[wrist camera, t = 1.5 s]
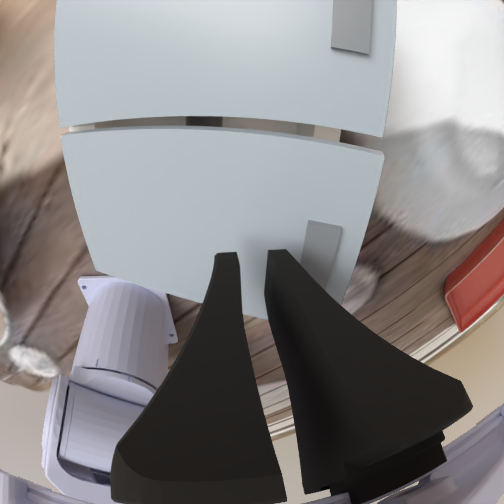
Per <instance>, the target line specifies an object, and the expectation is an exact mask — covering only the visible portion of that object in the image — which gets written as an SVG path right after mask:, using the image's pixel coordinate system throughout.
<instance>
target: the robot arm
mask: <svg viewBox="0 0 504 504" xmlns="http://www.w3.org/2000/svg"><path fill="white" fill-rule="evenodd" d="M78 284H79V286H80V289H81V291H82V293H83V295H84V297H85V299H86V301H87V303H88V305H89V309H88V312H87V315H86V318H85V321H84V325H83V328H82V332H81V335H80V339H79V343H78V347H77V350H76V354H75V358H74V363H73V367H72V371H71V374H70V376H69V379H68V376H66V375H64V374H60V376H59V377H58V376H57V377H55V378H53V381H52V385H51V390H50V395H49V400H48V405H47V410H46V416H45V422H44V429H43V437H42V445H41V446H42V447H43V451H42V467H43V469H45V476H46V477H47V478H48V480H49V481H50V482H51V483H52V484H53V485H55V487H56V488H57V489H59V490H60V491H61V492H62V493H63V494H64V495H62V494H59V493H56V492H53V491H52V490H51V489H48V488H46V487H43V486H40V485H38V484H35V483H33V482H30V481H28V480H25V479H23V478H20V477H16V476H14V475H11V474H9V473H7V472H5V471H3V470H1V469H0V504H275V503H281V502H286V501H287V497H286V491H285V487H284V482H283V477H282V473H281V470H280V467H279V464H278V460H277V457H276V454H275V451H274V447H273V444H272V440H271V437H270V433H269V430H268V426H267V423H266V419H265V416H264V412H263V408H262V404H261V400H260V396H259V392H258V388H257V384H256V380H255V376H254V371H253V367H252V362H251V358H250V353H249V348H248V344H247V339H246V334H245V329H244V322H243V312H242V293H241V273H240V263H239V259H238V255H237V252H222V253H217V254H216V255H215V256H214V266H213V271H212V275H211V279H210V283H209V286H208V289H207V292H206V295H205V298H204V301H203V303H202V306H201V308H200V311H199V313H198V315H197V318H196V320H195V323H194V325H193V327H192V329H191V332H190V334H189V336H188V338H187V340H186V342H185V344H184V346H183V348H182V350H181V351H180V353H179V355H178V357H177V359H176V360H175V362H174V364H173V366H172V367H171V369H170V371H169V372H168V346H169V343H177V342H178V336H177V333H176V329H175V325H174V321H173V318H172V314H171V310H170V306H169V301H168V297H167V293H164V292H161V291H157V290H154V289H151V288H148V287H144V286H141V285H138V284H135V283H132V282H129V281H126V280H123V279H120V278H116V277H114V276H111V275H109V276H83V277H80V278H79V279H78ZM85 286H86V287H85ZM264 298H265V304H266V310H267V316H268V321H269V324H270V327H271V331H272V334H273V337H274V341H275V344H276V347H277V351H278V354H279V357H280V360H281V364H282V367H283V370H284V373H285V377H286V381H287V385H288V390H289V396H290V401H291V406H292V412H293V418H294V424H295V430H296V436H297V443H298V450H299V457H300V466H301V474H302V484H303V488H304V493H305V494H311V493H315V492H319V491H323V490H327V489H330V493H331V496H330V497H326V498H323V499H319V500H315V501H311V502H307V503H303V504H370V503H372V502H374V501H377V500H380V499H382V498H384V497H386V496H389V495H390V496H389V497H387V498H385V499H383V500H382V501H380V502H378V503H377V504H496V503H497V502H498V500H499V499H500V497H501V496H502V494H503V493H504V404H503V405H501V406H500V407H498V408H497V409H495V410H494V411H493V412H491V413H490V414H489V415H487V416H486V417H485V418H483V419H482V420H481V421H479V422H478V423H477V424H476V426H475V427H473V428H472V429H470V430H469V431H467V432H466V433H464V434H463V435H461V436H460V437H458V438H457V439H455V440H454V441H452V442H451V443H449V444H448V445H446V446H444V447H443V448H442V445H441V442H442V441H444V440H445V436H444V434H443V431H442V430H444V429H445V428H447V427H449V426H450V425H452V424H453V423H454V422H456V421H457V420H459V419H460V418H462V417H463V416H464V415H466V414H467V413H468V412H469V411H471V409H472V407H473V405H472V403H471V401H470V399H469V397H468V394H467V393H466V390H465V388H464V386H463V384H462V382H461V381H460V380H457V379H455V378H453V377H451V376H448V375H446V374H444V373H442V372H440V371H437V370H435V369H433V368H431V367H429V366H427V365H425V364H423V363H422V362H420V361H418V360H416V359H414V358H412V357H411V356H409V355H407V354H406V353H404V352H402V351H401V350H399V349H398V348H396V347H394V346H393V345H391V344H390V343H388V342H387V341H385V340H384V339H382V338H381V337H380V336H378V335H377V334H375V333H374V332H373V331H371V330H370V329H369V328H367V327H366V326H365V325H364V324H362V323H361V322H360V321H359V320H357V319H356V318H355V317H354V316H352V315H351V314H350V313H349V312H348V311H346V310H345V309H344V308H343V307H342V306H341V305H340V304H339V303H338V302H337V301H335V300H334V299H333V298H332V297H331V296H330V295H329V294H328V293H327V292H326V291H325V290H324V289H323V288H322V287H321V286H320V285H319V284H318V283H317V282H316V281H315V280H314V279H313V278H312V276H311V275H310V274H309V273H308V272H307V271H306V270H305V269H304V268H303V267H302V266H301V265H300V264H299V262H298V261H297V260H296V259H295V258H294V257H293V256H292V255H291V254H290V253H289V252H288V251H287V250H286V249H276V250H268V255H267V266H266V276H265V287H264ZM417 481H419V483H418V485H416V486H413V487H410V488H407V489H405V490H401V489H403V488H405V487H407V486H409V485H411V484H413V483H415V482H417ZM399 490H401V491H399ZM397 491H399V492H397ZM395 492H396V493H395ZM393 493H394V494H393ZM391 494H392V495H391Z"/></svg>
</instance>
